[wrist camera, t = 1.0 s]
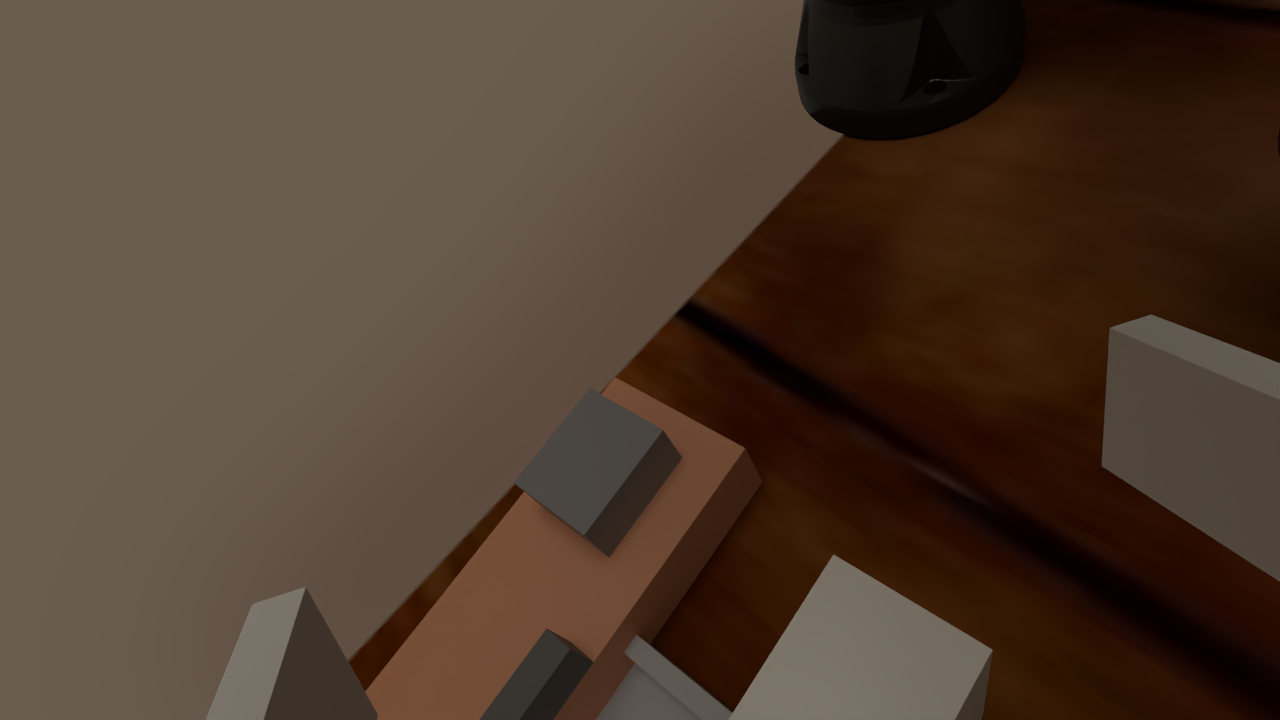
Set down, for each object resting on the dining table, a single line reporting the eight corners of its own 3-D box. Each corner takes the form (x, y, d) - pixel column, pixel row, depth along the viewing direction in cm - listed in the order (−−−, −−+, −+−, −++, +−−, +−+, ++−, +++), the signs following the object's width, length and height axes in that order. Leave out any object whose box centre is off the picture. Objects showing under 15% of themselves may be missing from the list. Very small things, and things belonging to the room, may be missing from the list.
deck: (639, 411, 43) (594, 347, 38) (884, 551, 34) (870, 492, 28) (387, 739, 37) (291, 718, 32) (599, 1015, 28) (514, 1051, 23)
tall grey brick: (870, 643, 32) (833, 554, 23) (982, 717, 29) (992, 649, 20) (797, 765, 30) (726, 722, 21) (908, 855, 28) (882, 853, 18)
